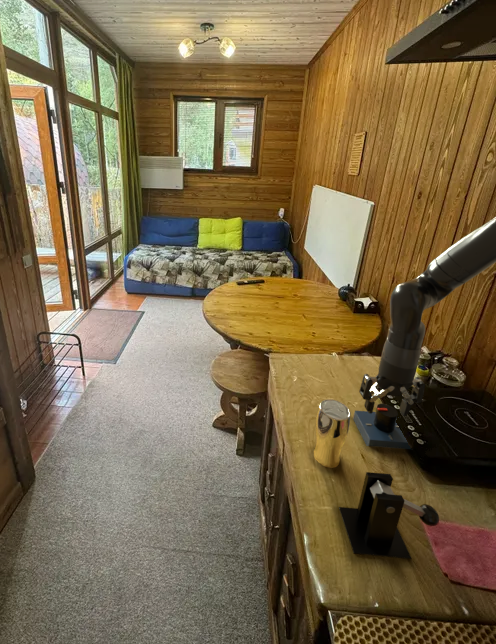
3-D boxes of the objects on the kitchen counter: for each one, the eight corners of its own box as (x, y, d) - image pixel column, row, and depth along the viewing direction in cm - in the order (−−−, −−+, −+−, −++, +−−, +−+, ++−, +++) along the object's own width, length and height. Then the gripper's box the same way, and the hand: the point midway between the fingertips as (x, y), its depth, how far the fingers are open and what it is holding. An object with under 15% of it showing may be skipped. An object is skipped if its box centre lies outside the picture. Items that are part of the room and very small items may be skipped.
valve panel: (393, 421, 86) (395, 412, 85) (413, 452, 77) (416, 442, 76) (353, 419, 87) (354, 409, 86) (367, 449, 77) (370, 439, 76)
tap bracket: (388, 515, 62) (401, 467, 58) (410, 562, 55) (427, 511, 51) (338, 510, 63) (347, 463, 59) (352, 557, 55) (364, 506, 51)
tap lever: (424, 514, 58) (436, 504, 57) (435, 533, 55) (447, 522, 54) (366, 486, 57) (377, 476, 56) (374, 504, 54) (385, 493, 53)
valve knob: (388, 419, 83) (392, 403, 81) (397, 433, 78) (402, 416, 77) (370, 418, 83) (373, 402, 82) (378, 432, 79) (382, 415, 77)
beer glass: (304, 452, 76) (312, 403, 71) (326, 443, 79) (335, 395, 74) (325, 477, 70) (334, 424, 65) (348, 466, 73) (358, 415, 68)
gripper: (376, 365, 71) (363, 421, 76) (440, 369, 70) (423, 425, 75) (362, 348, 78) (352, 400, 83) (420, 351, 77) (406, 404, 82)
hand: (385, 412), depth 79 cm, fingers open, 8 cm apart
